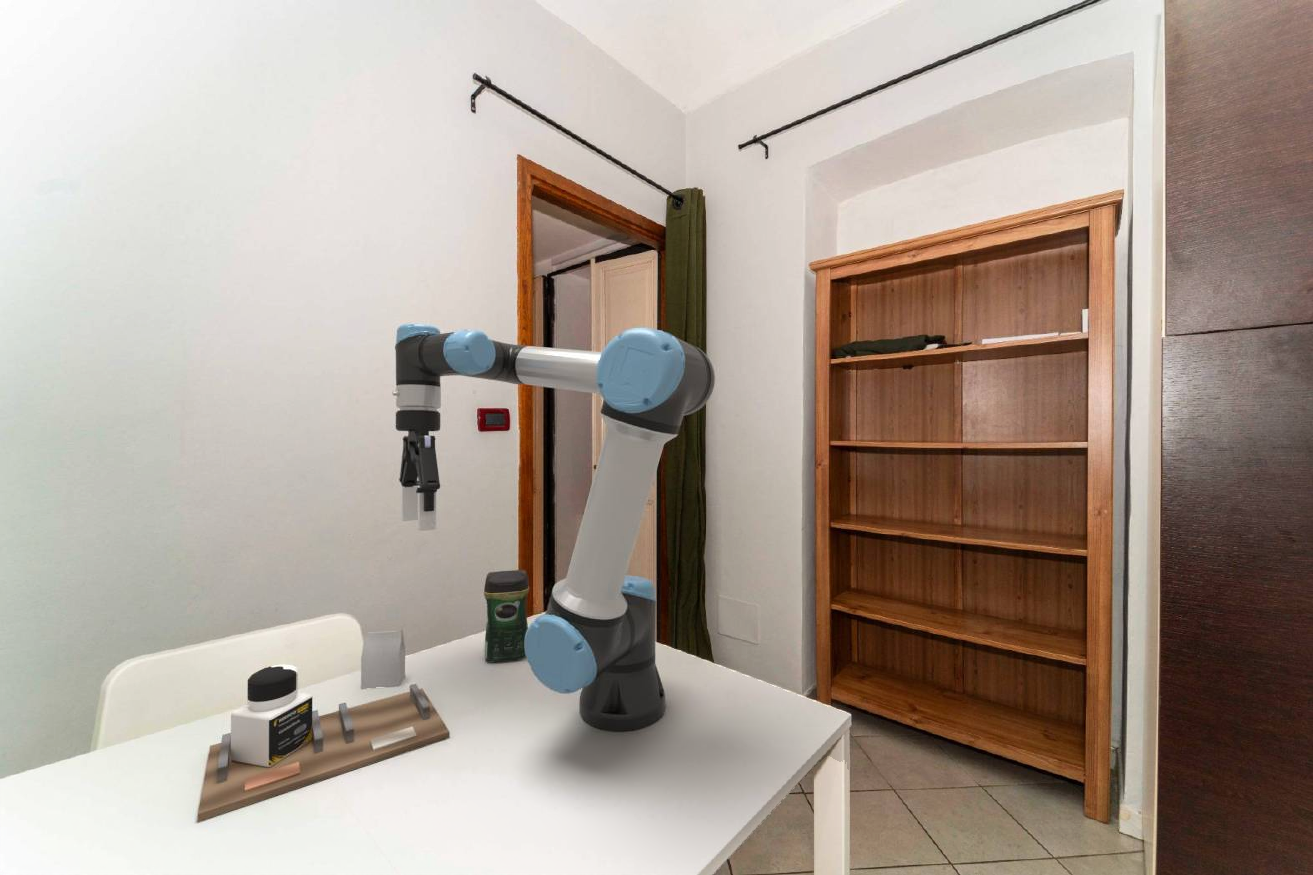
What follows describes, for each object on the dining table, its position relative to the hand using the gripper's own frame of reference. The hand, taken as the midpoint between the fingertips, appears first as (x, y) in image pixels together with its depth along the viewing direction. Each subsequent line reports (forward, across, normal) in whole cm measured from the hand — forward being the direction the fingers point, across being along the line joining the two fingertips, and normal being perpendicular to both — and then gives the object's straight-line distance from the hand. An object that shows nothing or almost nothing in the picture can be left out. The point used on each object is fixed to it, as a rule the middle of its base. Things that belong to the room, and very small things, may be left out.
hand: (418, 525), depth 95 cm
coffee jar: (+32, -8, +20) cm, 38 cm away
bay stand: (+32, +8, -14) cm, 36 cm away
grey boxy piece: (+32, -10, -4) cm, 34 cm away
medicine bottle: (+31, +6, -21) cm, 38 cm away
